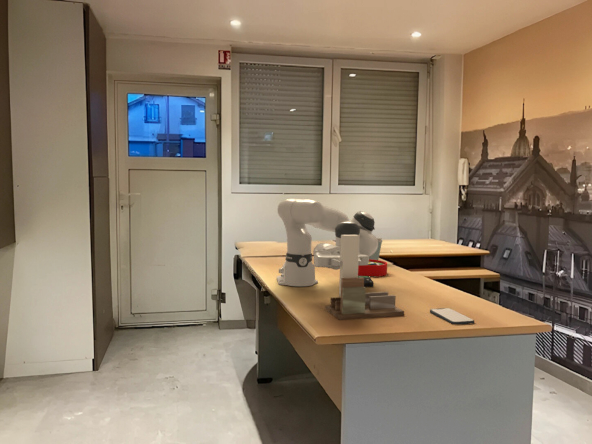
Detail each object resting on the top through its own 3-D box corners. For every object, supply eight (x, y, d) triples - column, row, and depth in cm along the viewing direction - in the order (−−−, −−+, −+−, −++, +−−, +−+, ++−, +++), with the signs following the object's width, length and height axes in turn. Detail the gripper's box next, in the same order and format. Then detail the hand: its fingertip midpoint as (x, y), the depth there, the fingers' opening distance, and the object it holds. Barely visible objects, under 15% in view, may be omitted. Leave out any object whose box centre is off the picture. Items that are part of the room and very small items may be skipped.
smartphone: (476, 325, 159) (449, 311, 175) (476, 320, 159) (449, 307, 175) (452, 327, 157) (428, 313, 173) (453, 322, 157) (428, 308, 172)
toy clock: (357, 266, 234) (343, 259, 253) (357, 277, 235) (342, 270, 254) (394, 265, 240) (377, 258, 259) (393, 276, 240) (376, 269, 259)
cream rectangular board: (339, 295, 169) (341, 234, 167) (354, 295, 171) (356, 234, 169) (341, 297, 166) (343, 235, 165) (357, 296, 168) (359, 235, 167)
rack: (324, 309, 173) (325, 293, 172) (385, 305, 180) (386, 290, 180) (339, 319, 160) (339, 302, 159) (404, 315, 167) (404, 298, 167)
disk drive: (373, 288, 213) (369, 281, 227) (374, 282, 212) (369, 275, 227) (351, 288, 213) (347, 280, 227) (351, 282, 212) (347, 275, 227)
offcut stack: (340, 312, 164) (341, 278, 163) (361, 310, 167) (362, 277, 166) (343, 314, 161) (344, 279, 160) (364, 313, 164) (365, 279, 163)
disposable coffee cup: (359, 262, 280) (360, 237, 279) (371, 260, 287) (372, 236, 286) (373, 264, 272) (374, 238, 271) (385, 262, 279) (386, 237, 278)
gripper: (359, 265, 183) (376, 271, 170) (310, 266, 177) (323, 273, 164) (360, 248, 183) (376, 254, 170) (310, 249, 176) (324, 255, 163)
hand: (350, 263), depth 167 cm, fingers closed on cream rectangular board, 6 cm apart
